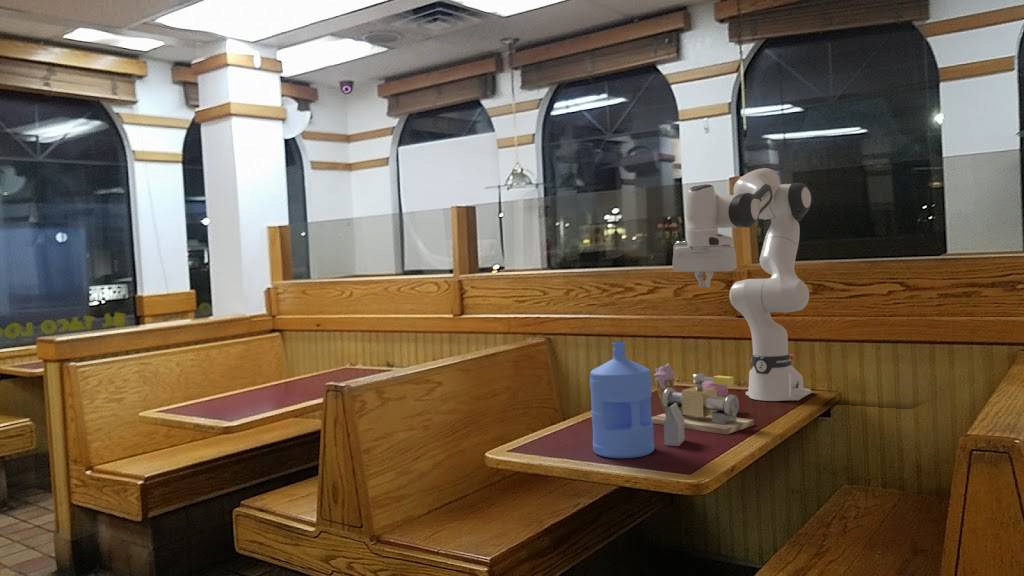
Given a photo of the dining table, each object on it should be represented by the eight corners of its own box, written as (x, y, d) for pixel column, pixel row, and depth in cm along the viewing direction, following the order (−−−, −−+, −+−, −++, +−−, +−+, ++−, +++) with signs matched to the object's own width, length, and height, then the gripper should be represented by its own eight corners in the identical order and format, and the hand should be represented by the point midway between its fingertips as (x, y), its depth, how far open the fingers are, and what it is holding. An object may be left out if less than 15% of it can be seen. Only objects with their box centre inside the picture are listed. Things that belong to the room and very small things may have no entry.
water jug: (582, 449, 217) (576, 342, 215) (633, 441, 223) (628, 337, 222) (612, 462, 202) (607, 348, 201) (667, 453, 209) (662, 342, 207)
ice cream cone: (675, 413, 256) (673, 364, 255) (654, 413, 257) (652, 365, 256) (675, 408, 262) (673, 361, 261) (655, 409, 263) (653, 362, 263)
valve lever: (690, 381, 239) (690, 375, 239) (697, 380, 241) (696, 373, 241) (728, 385, 230) (727, 378, 230) (734, 383, 232) (734, 376, 232)
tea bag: (684, 440, 222) (683, 402, 221) (678, 446, 215) (677, 407, 215) (671, 439, 223) (669, 402, 223) (664, 445, 217) (663, 407, 217)
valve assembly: (677, 414, 254) (675, 375, 253) (753, 425, 235) (752, 382, 234) (649, 422, 244) (647, 382, 244) (726, 434, 225) (724, 390, 224)
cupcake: (722, 415, 249) (721, 382, 248) (695, 413, 253) (693, 381, 253) (732, 410, 256) (731, 377, 255) (705, 408, 261) (704, 376, 260)
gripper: (667, 241, 250) (669, 287, 251) (726, 239, 235) (728, 288, 236) (679, 241, 254) (681, 286, 255) (738, 238, 240) (740, 286, 240)
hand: (704, 287), depth 245 cm, fingers closed
